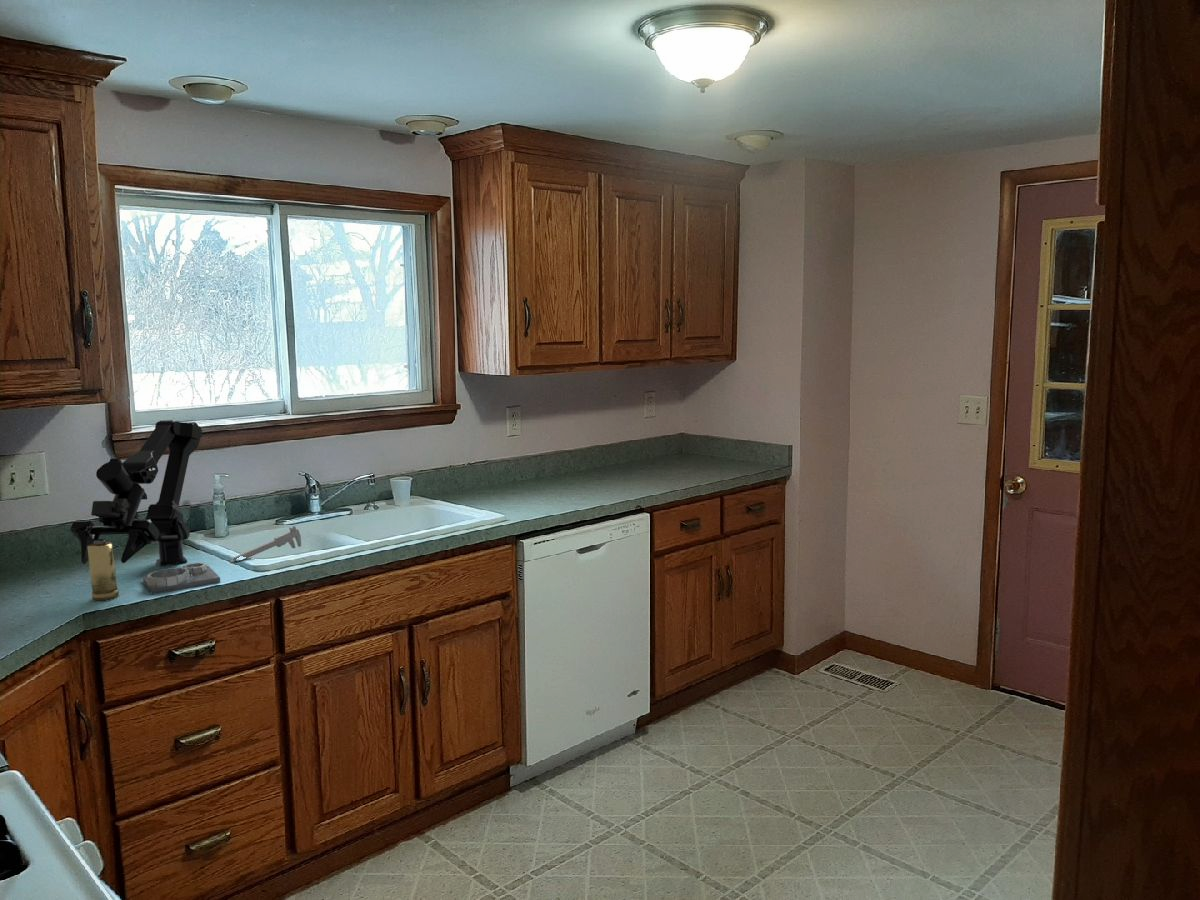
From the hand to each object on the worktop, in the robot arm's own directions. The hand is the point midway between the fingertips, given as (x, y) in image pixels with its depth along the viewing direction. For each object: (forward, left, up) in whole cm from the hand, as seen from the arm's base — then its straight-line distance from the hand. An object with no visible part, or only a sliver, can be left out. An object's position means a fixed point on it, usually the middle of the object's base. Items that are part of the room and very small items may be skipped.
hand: (102, 562), depth 209 cm
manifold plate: (-2, +16, -8) cm, 18 cm away
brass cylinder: (0, 0, -8) cm, 8 cm away
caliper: (-16, +40, -9) cm, 44 cm away
